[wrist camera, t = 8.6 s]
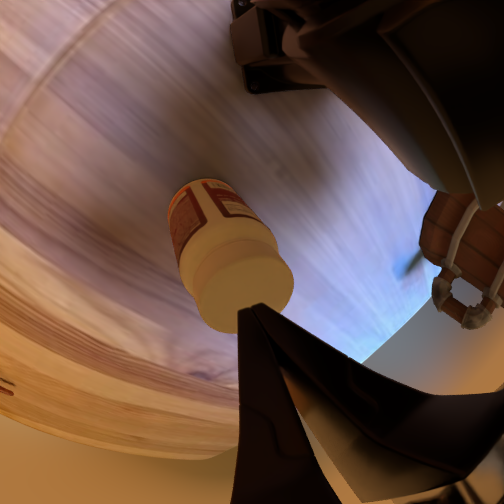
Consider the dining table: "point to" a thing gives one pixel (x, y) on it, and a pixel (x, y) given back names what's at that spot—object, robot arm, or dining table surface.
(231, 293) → the pill bottle
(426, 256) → the mug
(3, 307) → the dining table surface
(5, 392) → the orange animal figurine
